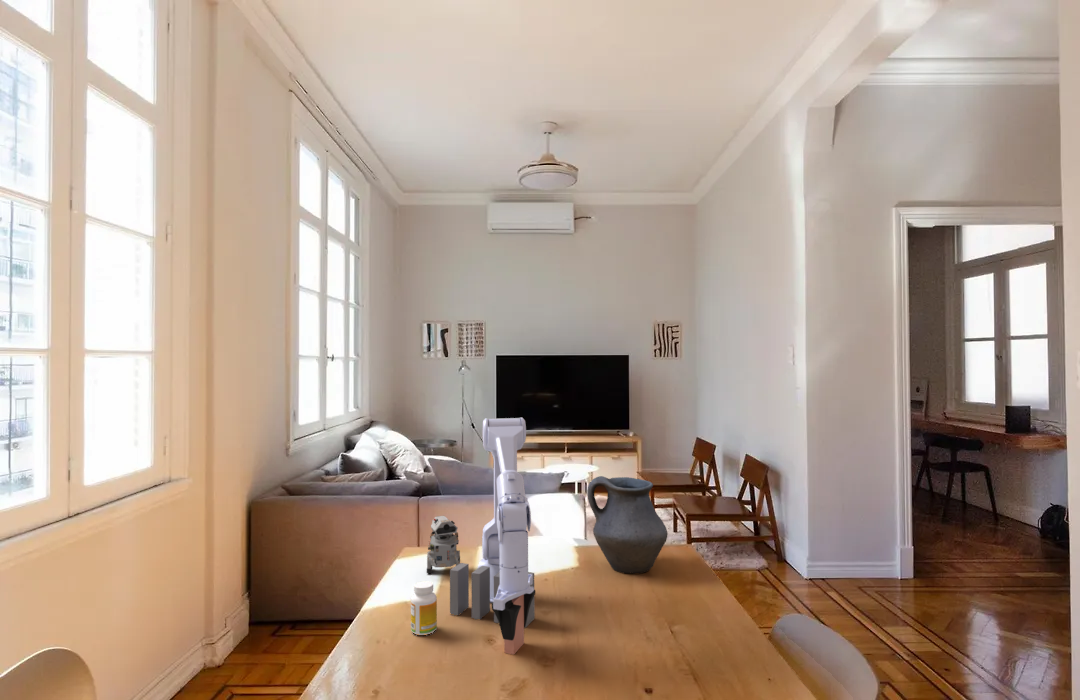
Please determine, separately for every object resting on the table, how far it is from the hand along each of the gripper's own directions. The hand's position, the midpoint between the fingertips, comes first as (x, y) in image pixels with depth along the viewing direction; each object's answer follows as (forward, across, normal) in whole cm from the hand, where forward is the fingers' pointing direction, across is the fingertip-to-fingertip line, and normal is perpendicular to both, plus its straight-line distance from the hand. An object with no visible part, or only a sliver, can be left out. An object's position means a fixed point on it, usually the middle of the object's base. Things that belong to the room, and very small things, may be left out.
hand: (514, 632), depth 117 cm
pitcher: (+3, +53, -10) cm, 54 cm away
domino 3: (+3, +12, +8) cm, 14 cm away
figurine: (+3, +31, +35) cm, 47 cm away
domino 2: (+3, +12, +14) cm, 18 cm away
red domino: (+3, 0, 0) cm, 3 cm away
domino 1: (+3, +12, +19) cm, 22 cm away
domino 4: (+3, +12, +2) cm, 12 cm away
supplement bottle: (+3, 0, +21) cm, 21 cm away
